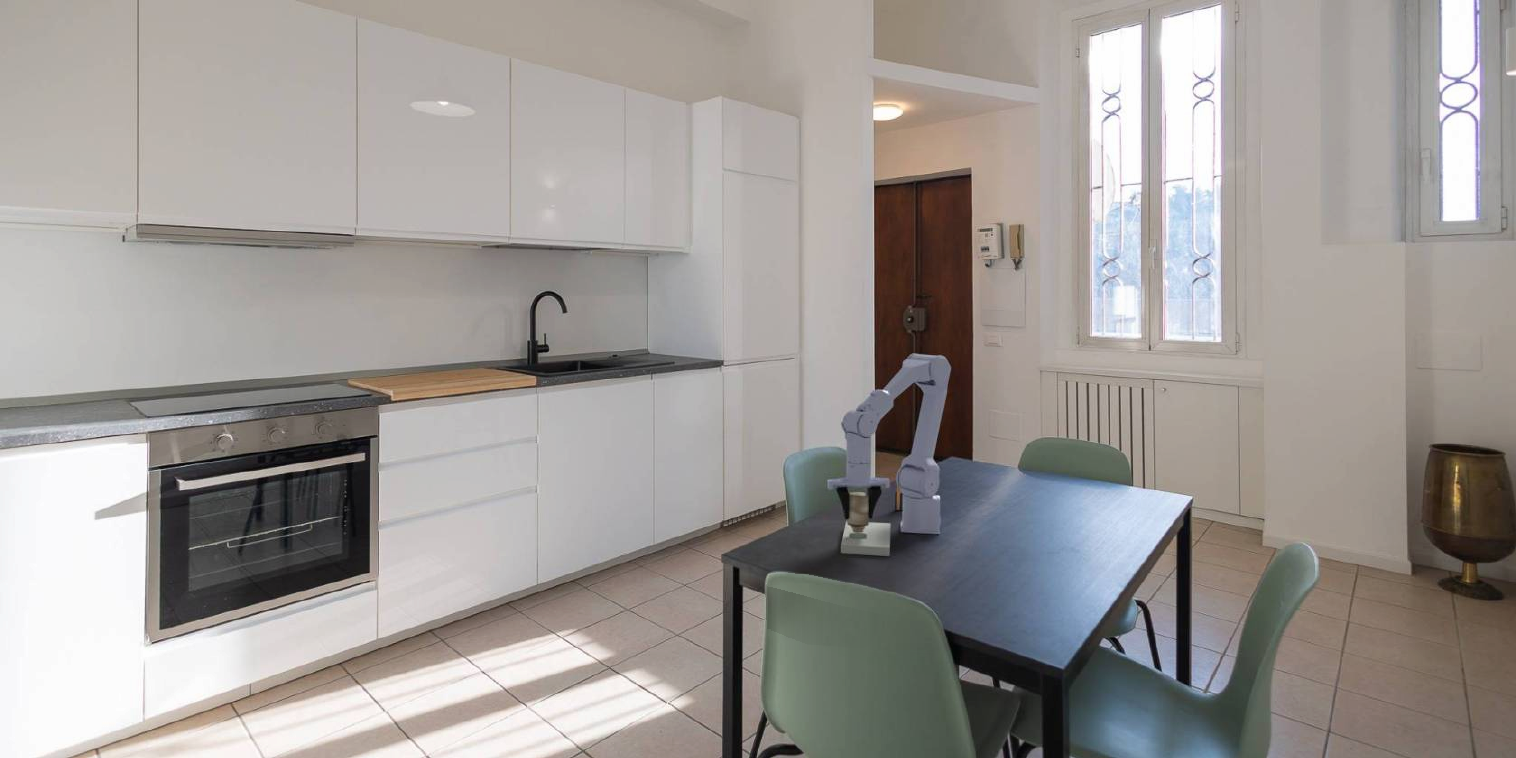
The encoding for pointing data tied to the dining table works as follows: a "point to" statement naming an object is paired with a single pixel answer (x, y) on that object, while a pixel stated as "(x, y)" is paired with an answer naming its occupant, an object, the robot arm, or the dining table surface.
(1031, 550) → the dining table surface
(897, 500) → the ammunition clip
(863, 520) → the peg
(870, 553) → the board
